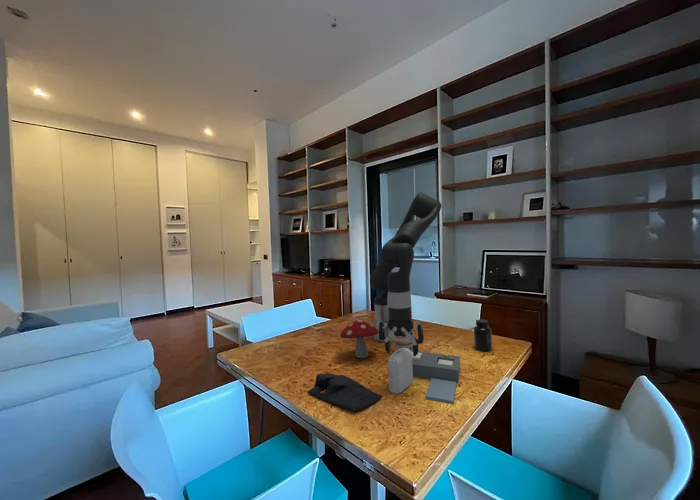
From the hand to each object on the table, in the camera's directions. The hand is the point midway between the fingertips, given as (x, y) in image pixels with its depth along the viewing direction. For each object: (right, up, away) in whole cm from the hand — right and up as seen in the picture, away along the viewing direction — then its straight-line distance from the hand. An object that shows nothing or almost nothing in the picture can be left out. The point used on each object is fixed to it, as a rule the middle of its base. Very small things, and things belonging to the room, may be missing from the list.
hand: (401, 354), depth 95 cm
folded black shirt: (-19, -13, -2) cm, 23 cm away
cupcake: (+6, -10, +26) cm, 29 cm away
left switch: (+7, -7, +13) cm, 16 cm away
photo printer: (0, -11, +1) cm, 11 cm away
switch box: (+12, -10, +11) cm, 19 cm away
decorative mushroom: (-12, -11, +27) cm, 31 cm away
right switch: (+17, -8, +8) cm, 21 cm away
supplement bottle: (+40, -8, +29) cm, 50 cm away
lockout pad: (+12, -11, -3) cm, 16 cm away
